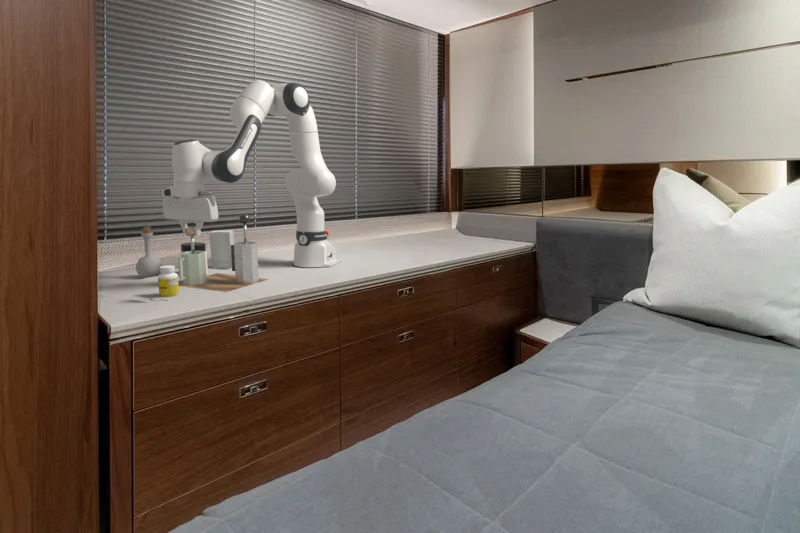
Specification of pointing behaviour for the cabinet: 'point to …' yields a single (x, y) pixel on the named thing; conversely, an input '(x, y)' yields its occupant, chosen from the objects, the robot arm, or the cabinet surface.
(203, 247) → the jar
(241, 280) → the steel press
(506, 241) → the cabinet surface
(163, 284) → the supplement bottle
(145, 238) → the potion bottle
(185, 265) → the pale green octagonal mug
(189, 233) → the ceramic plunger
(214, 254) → the skincare box
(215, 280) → the serving board
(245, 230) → the steel plunger
